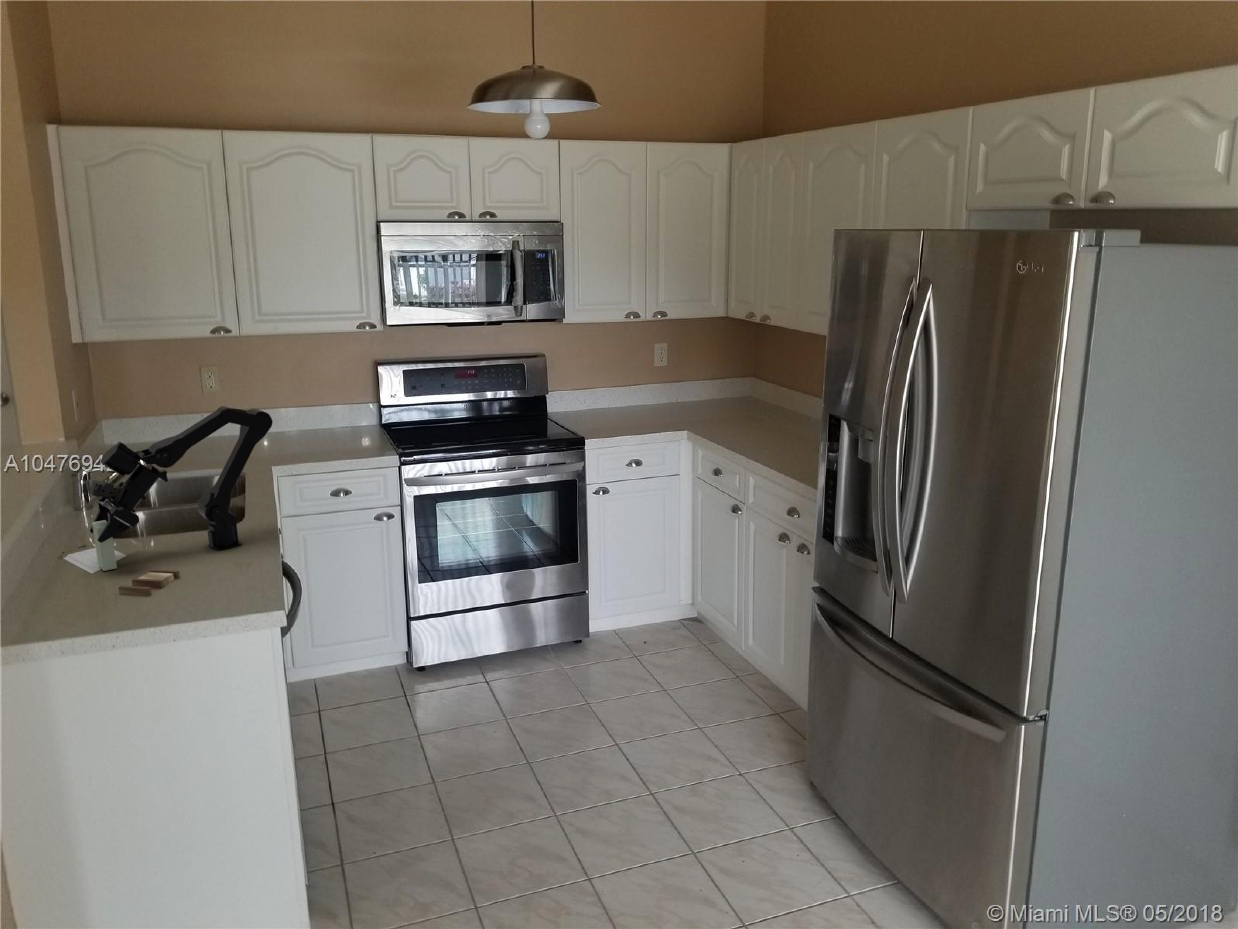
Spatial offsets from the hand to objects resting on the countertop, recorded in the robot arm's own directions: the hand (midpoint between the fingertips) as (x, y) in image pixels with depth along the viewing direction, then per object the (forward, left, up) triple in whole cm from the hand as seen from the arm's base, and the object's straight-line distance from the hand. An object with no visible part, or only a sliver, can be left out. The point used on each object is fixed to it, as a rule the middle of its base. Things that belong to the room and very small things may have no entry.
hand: (95, 537), depth 228 cm
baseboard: (-3, -4, -10) cm, 11 cm away
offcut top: (-6, +20, -8) cm, 22 cm away
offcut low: (-6, +20, -9) cm, 22 cm away
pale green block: (-2, 0, -8) cm, 8 cm away
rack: (-4, +21, -9) cm, 23 cm away
